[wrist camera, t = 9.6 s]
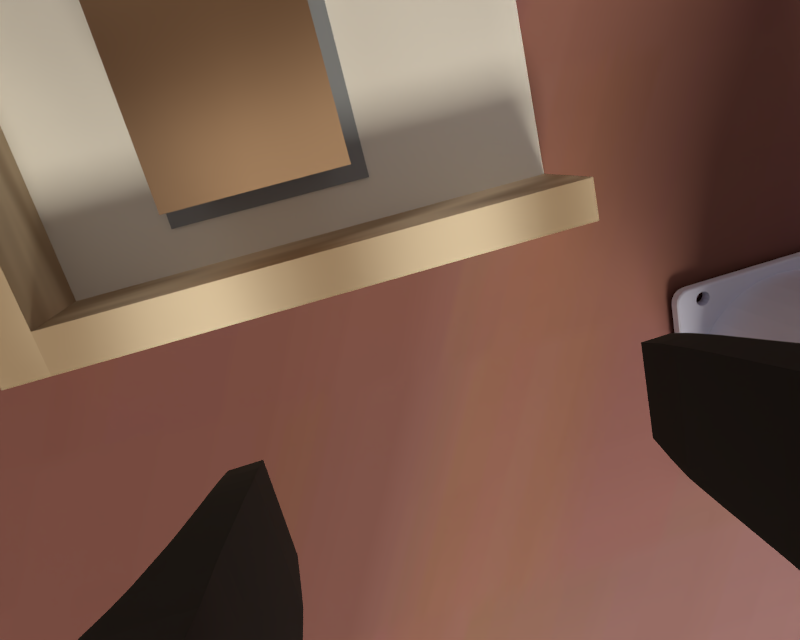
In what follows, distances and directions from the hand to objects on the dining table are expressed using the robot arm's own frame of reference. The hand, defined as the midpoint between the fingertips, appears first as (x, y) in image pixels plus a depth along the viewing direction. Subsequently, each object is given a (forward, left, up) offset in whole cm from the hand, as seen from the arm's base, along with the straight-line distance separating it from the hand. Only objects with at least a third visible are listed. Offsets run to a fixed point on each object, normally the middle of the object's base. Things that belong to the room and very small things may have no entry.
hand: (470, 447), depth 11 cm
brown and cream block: (+2, -8, -9) cm, 12 cm away
